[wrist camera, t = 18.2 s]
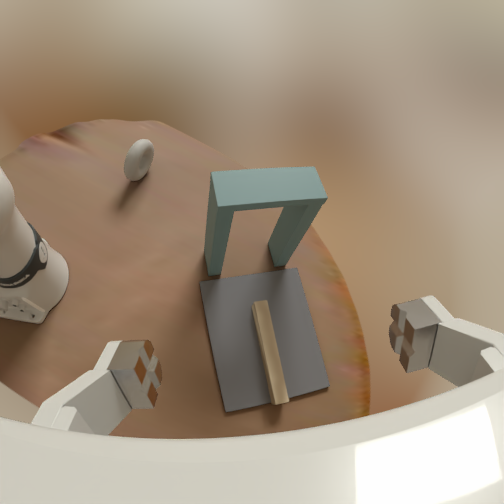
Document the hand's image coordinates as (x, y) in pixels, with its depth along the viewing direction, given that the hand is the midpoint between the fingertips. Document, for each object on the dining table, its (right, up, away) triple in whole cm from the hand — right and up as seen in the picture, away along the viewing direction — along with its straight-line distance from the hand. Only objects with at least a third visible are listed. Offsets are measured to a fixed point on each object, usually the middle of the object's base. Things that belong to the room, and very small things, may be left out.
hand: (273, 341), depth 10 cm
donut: (-27, +21, +61) cm, 70 cm away
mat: (+2, -13, +49) cm, 50 cm away
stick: (+2, -16, +46) cm, 49 cm away
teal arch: (-2, +2, +55) cm, 55 cm away
